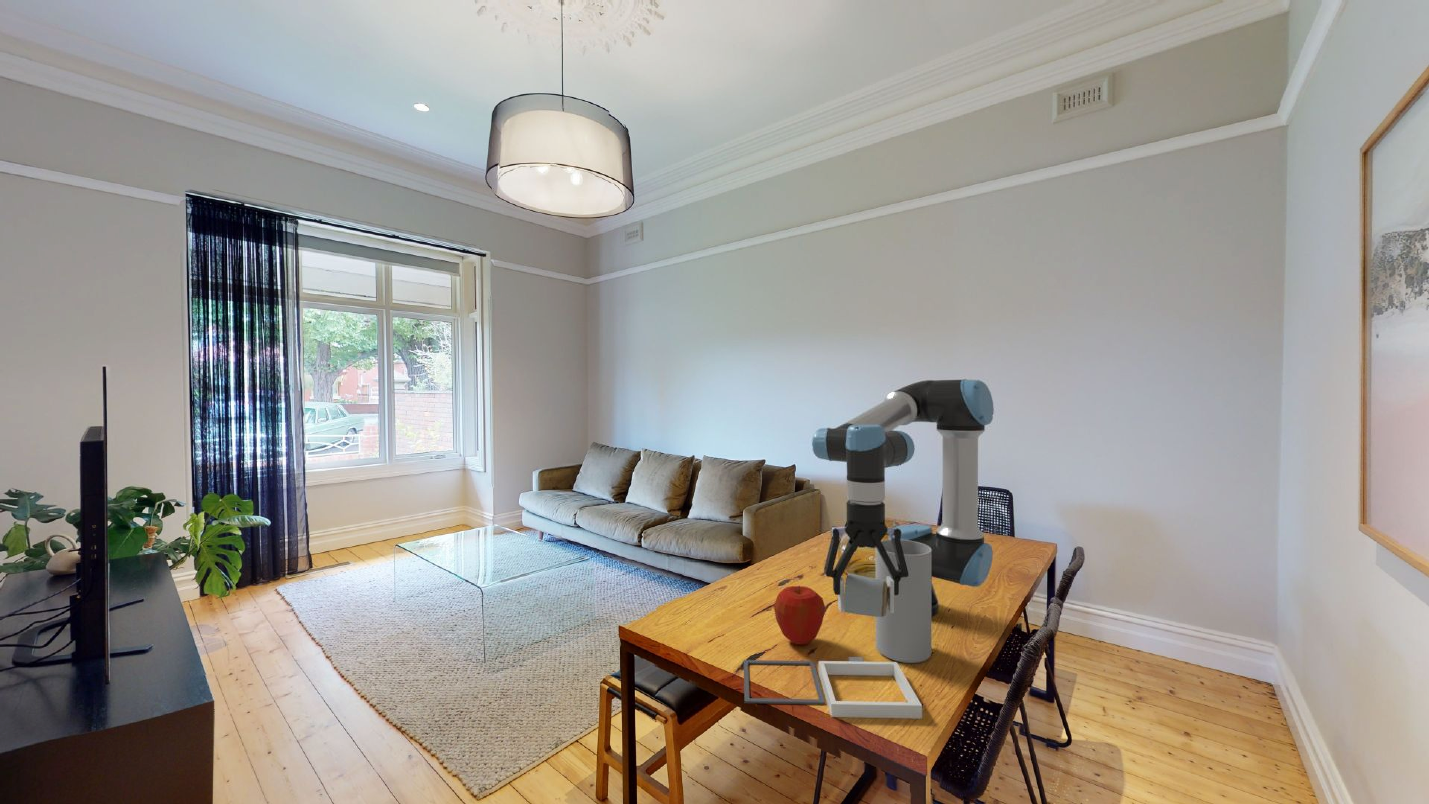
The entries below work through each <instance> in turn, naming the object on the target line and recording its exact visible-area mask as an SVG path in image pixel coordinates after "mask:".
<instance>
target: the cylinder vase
mask: <svg viewBox="0 0 1429 804" xmlns="http://www.w3.org/2000/svg"><path fill="white" fill-rule="evenodd" d="M900 541H901V545H902V549H903V553H904V557H905V561H906V565H907V569H908V573H909V575H908V577H902V578H901V580H900V581H899V594H898V595H894V613H890V612H889V610H888V609H887V608H886V615H885V616H883V617H875V648H876V650H877V651H878V653H880V655H882V656H884V657H885V658H887V659H890V660H893V661H894V662H897V663H898V662H900V663H905V664H918V663H923V662H926V661H927V660H929V659H930V657H931V655H932V616H931V559H932V550H931V548H930V547H929V546H927V545H925V544H922V543H919V542H915V541H909V540H900ZM881 542H882V544H883V546H884V548H885V550H886V552H887V554H888V556H889V558H890V560H891V561H892V563H893V565H894V567H895V569H896V570H899V569H898V565H897V561H896V557H895V553H894V549H893V545H892V540H889V539H882V540H881ZM874 549H875V550H874V551H875V579H880V580H882V581H885V582H886V583H887V576H890V577H891V575H890V573H889V571H888V569H887V567H886V565H885V563H884V561H883V560H882V558H881V556H880V554H879V552H878V550H877V548H876V547H875V548H874Z"/></svg>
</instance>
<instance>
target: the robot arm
mask: <svg viewBox="0 0 1429 804" xmlns="http://www.w3.org/2000/svg"><path fill="white" fill-rule="evenodd" d="M994 413H995V411H994V401H993V396H992V392H991V391H990V389H989V387H988V385H987V384H986V383H985V382H983V381H982V380H979V379H967V378H964V379H939V380H937V379H936V380H932V379H931V380H928V379H927V380H921V381H918V382H914V383H911V384H908V385H905V386H903V387H900V388H898V389H896V390H894V391H893V392H891V393H889V394H888V395H887V396H886V397H885V398H884V400H883V401H882V402H880V403H879V404H877V405H875V406H873V407H872V408H869V409H868V410H867V411H865V412H862V413H861V414H859V415H857V416H856V417H854V418H852V419H850V420H848V421H847V422H845V423H842V424H841V425H839V426H837V427H834V428H832V427H831V428H830V427H825V428H822V427H821V428H818V429H817V430H816V431H815V432H814V434H813V436H812V440H811V446H812V452H813V454H814V455H815V457H816V458H818V459H820V460H825V461H829V462H841V463H846V498H847V500H848V501H846V521H845V524H844V526H840V527H837V526H835V525H834V526H831V528H830V534H831V539H830V544H829V547H828V551H827V556H826V560H825V564H824V567H823V571H824V573H825V576H826V577H828V578H829V577H830V578H832V584H833V585H832V590H833V592H834V595H835V596H838V597H837V598H838V599H837V608H838V609H839V612H840V613H841V614H842V613H845V610H844V594H845V580H844V577H843V575H844V573H845V570H846V568H847V567H848V566H849V563H850V561H851V560H852V557H853V556H854V554H855V552H857V550H858V548H865V547H868V548H871V549H872V548H874V549H875V547H876V548H877V550H878V552H879V554H880V556H881V558H882V560H883V561H884V563H885V565H886V567H887V569H888V571H889V573H890V575H891V577H890V576H887V586H888V591H887V609H888V610H889V612H890V613H894V595H898V594H899V581H900V580H901V578H902V577H908V575H909V573H908V569H907V565H906V561H905V557H904V553H903V549H902V545H901V541H900V540H909V541H915V542H919V543H922V544H925V545H927V546H929V547H930V548H931V550H932V559H931V617H933V616H935V615H937V614H938V613H939V610H940V609H939V606H940V605H939V599H938V596H937V593H936V591H935V588H934V584H933V578H934V579H939V580H940V579H941V580H943V581H948V582H951V583H955V584H959V585H960V586H969V587H972V588H973V587H974V588H975V587H976V588H977V587H981V585H983V584H984V583H985V581H986V580H987V578H988V576H989V573H990V570H991V569H992V568H991V567H992V563H993V559H994V556H993V555H994V551H993V547H992V545H991V544H990V543H988V542H985V534H984V532H983V531H982V530H980V528H979V526H978V525H979V524H978V523H979V521H978V520H979V515H978V514H979V505H978V503H979V437H980V436H981V435H983V434H984V433H985V430H986V429H985V428H986V427H985V426H986V425H990V424H991V423H992V421H993V419H994ZM918 422H919V423H935V424H936V431H937V433H939V434H940V435H941V436H942V483H941V484H942V485H941V487H942V492H941V493H942V500H941V501H942V502H941V503H942V505H941V506H942V508H941V509H942V517H941V518H942V523H941V524H940V526H939V527H938V528H936V530H935V532H936V533H933V531H934V530H933V528H932V526H930V525H927V524H918V523H916V524H915V523H913V524H911V523H910V524H900V525H897V526H887V525H886V504H885V503H884V502H883V501H884V500H886V486H885V485H886V484H885V483H886V480H885V478H886V477H885V475H886V474H885V473H886V468H890V467H891V468H892V467H899V466H902V465H903V464H906V463H908V462H909V461H910V460H911V459H912V457H914V454H915V444H914V440H913V439H912V437H911V436H910V435H909V434H908V433H907V432H905V431H902V430H895V429H896V428H898V427H899V426H907V425H909V424H912V423H918ZM844 534H846V535H847V536H848V538H849V539H848V540H847V543H846V546H845V549H844V550H843V552H842V554H841V556H840V558H839V560H838V561H837V562H836V559H837V554H838V551H839V546H840V543H841V542H840V541H841V539H842V538H843V536H844ZM887 534H888V540H892V545H893V549H894V553H895V557H896V561H897V565H898V569H899V570H896V569H895V567H894V565H893V563H892V561H891V560H890V558H889V556H888V554H887V552H886V550H885V548H884V546H883V544H882V542H881V541H883V540H884V539H883V538H884V537H885V536H886V535H887Z"/></svg>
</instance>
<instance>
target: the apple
mask: <svg viewBox="0 0 1429 804" xmlns="http://www.w3.org/2000/svg"><path fill="white" fill-rule="evenodd" d="M773 610H774V615H775V620H776V622H777V625H778V627H779V629H780V631H781V633H782V635H783V636H784V637H785V638H786V639H788V640H789V641H790V642H791V643H793V644H795V645H797V646H799V645H800V646H803V645H808V644H809V643H811V642H812V641H814V640H815V639H816V637H817V636H818V634H819V632H820V629H821V628H822V625H823V621H824V616H825V612H826V606H825V602H824V599H823V597H821V595H820V594H819V593H817V592H816V591H815V590H813V589H812V588H811V587H808V586H805V585H804V586H802V585H801V586H800V585H792V586H790V585H789V586H786V587H785V588H783V589H782V590H781V591H779V593H777V596H776V599H775V601H774V604H773Z"/></svg>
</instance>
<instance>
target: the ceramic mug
mask: <svg viewBox="0 0 1429 804" xmlns="http://www.w3.org/2000/svg"><path fill="white" fill-rule="evenodd" d="M887 591H888V586H887V583H886V582H885V581H882V580H880V579H876V577H868V576H863V575H859V574H855V573H847V575H846V578H845V582H844V613H847V614H853V615H860V616H861V615H862V616H869V617H874V618H876V617H883V616H885V615H886V608H887Z"/></svg>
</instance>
